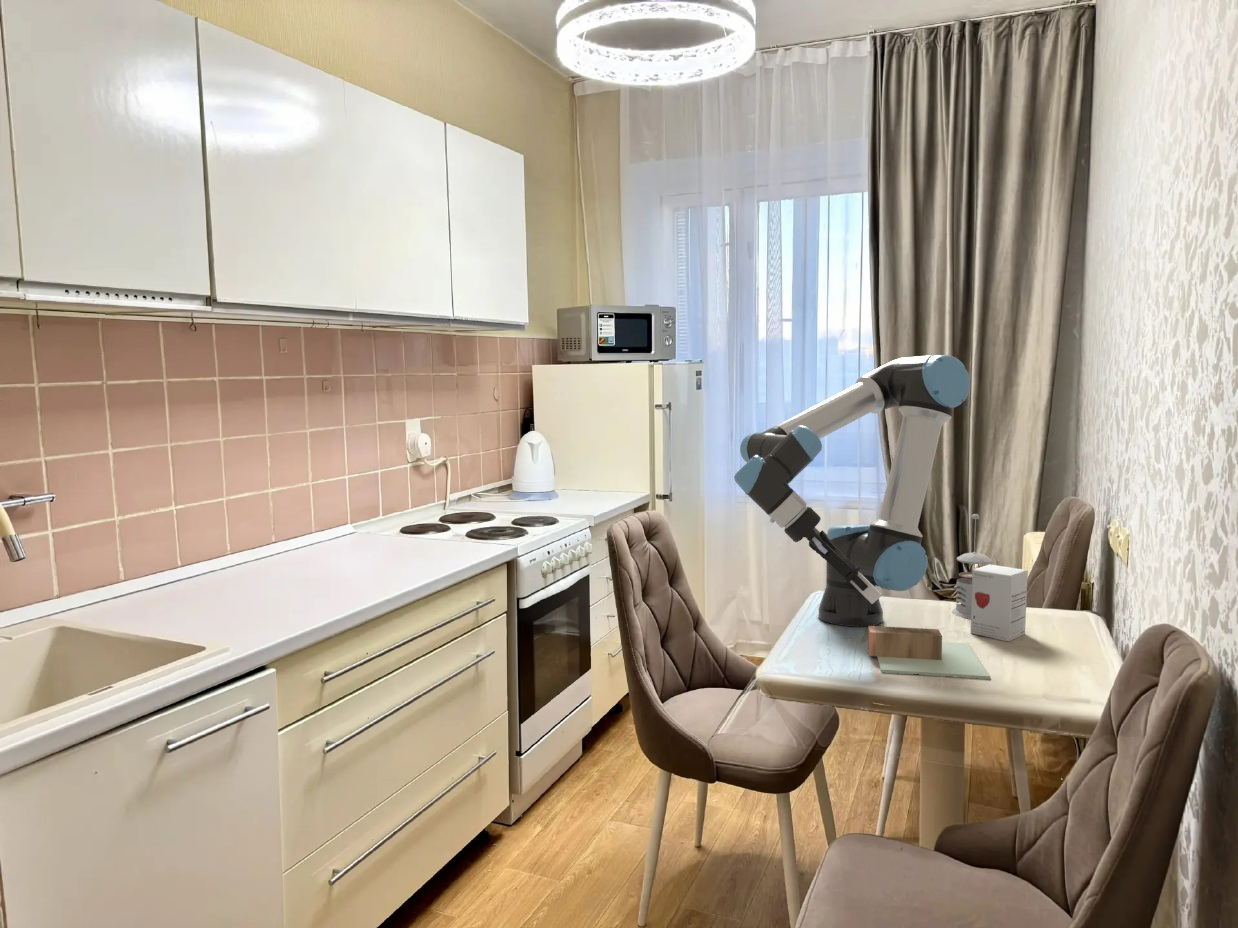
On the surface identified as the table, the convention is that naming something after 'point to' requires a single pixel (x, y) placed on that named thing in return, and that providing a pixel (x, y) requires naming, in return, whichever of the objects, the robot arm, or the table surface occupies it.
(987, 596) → the supplement box
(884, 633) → the walnut block
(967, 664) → the mat
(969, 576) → the french press
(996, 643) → the table surface
